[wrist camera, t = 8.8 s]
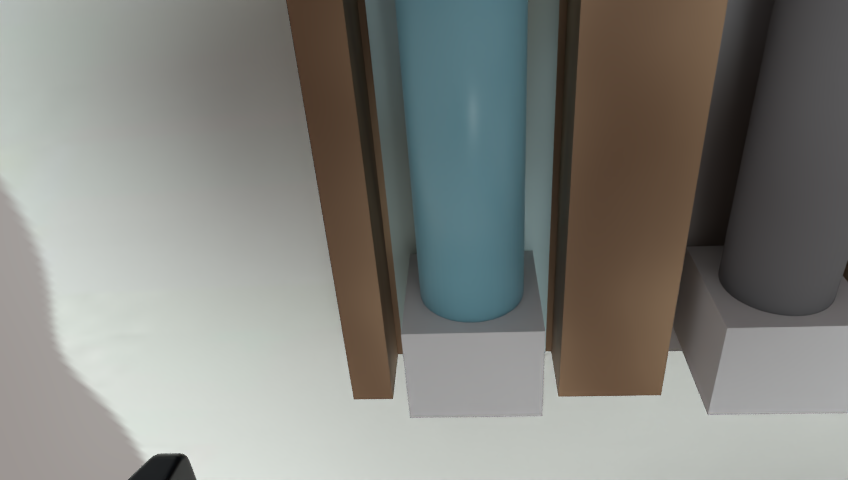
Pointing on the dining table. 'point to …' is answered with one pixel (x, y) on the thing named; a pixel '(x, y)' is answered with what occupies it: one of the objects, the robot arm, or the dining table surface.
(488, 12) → the grey and teal bar
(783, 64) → the grey white-ended bar
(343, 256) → the walnut rack
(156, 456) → the robot arm
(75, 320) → the dining table surface
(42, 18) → the dining table surface
